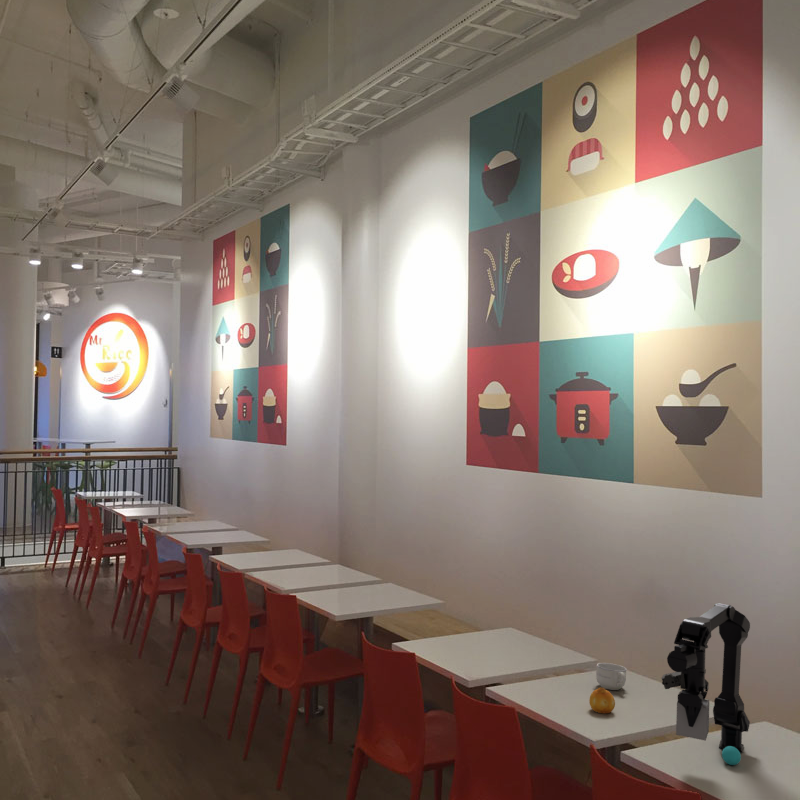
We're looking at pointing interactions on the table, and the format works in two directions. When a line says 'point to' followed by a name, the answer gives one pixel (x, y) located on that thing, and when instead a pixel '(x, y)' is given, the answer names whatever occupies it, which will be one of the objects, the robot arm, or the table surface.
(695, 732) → the gray wedge-topped block
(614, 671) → the teacup
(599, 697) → the fruit
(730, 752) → the ball
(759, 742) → the table surface
